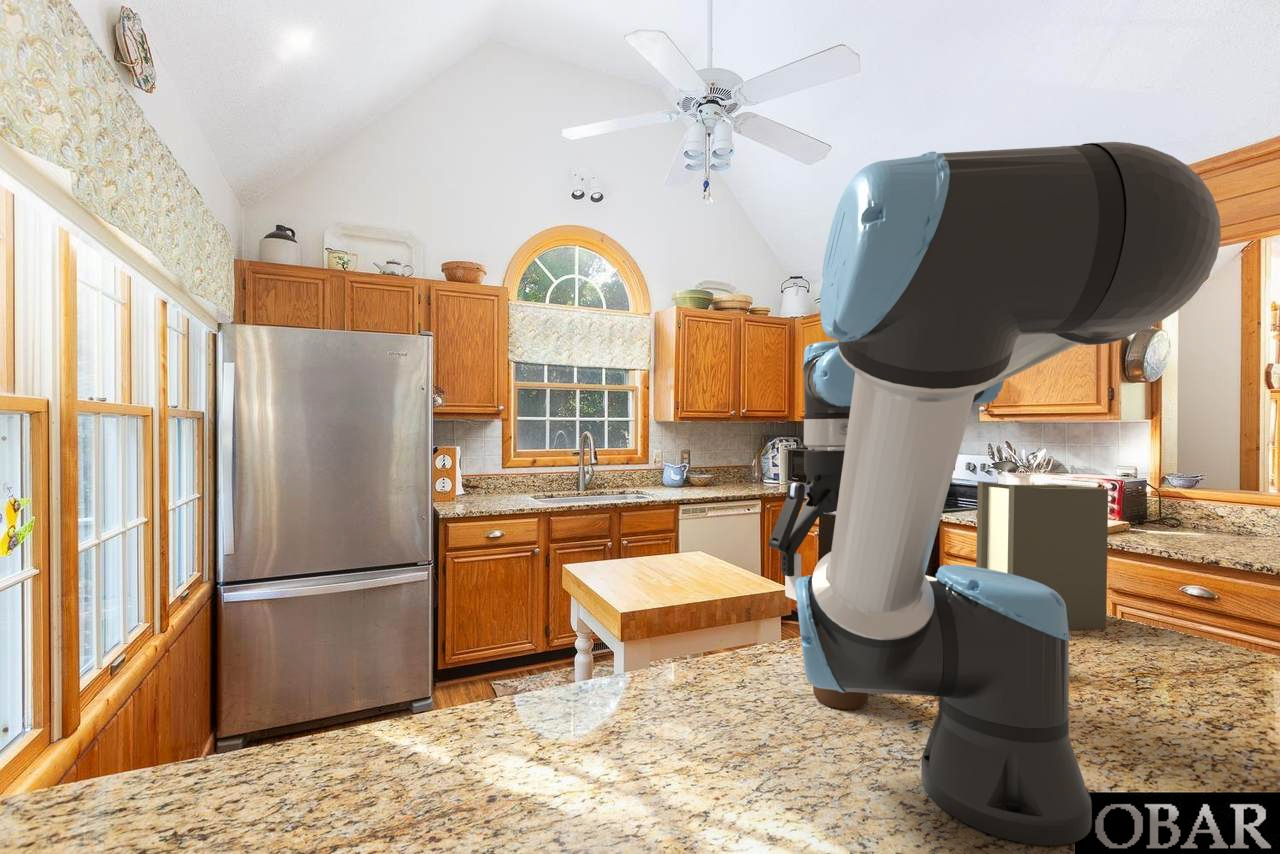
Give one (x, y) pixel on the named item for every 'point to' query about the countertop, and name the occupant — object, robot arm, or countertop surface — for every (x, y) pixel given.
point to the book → (1049, 542)
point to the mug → (841, 698)
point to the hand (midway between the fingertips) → (831, 593)
